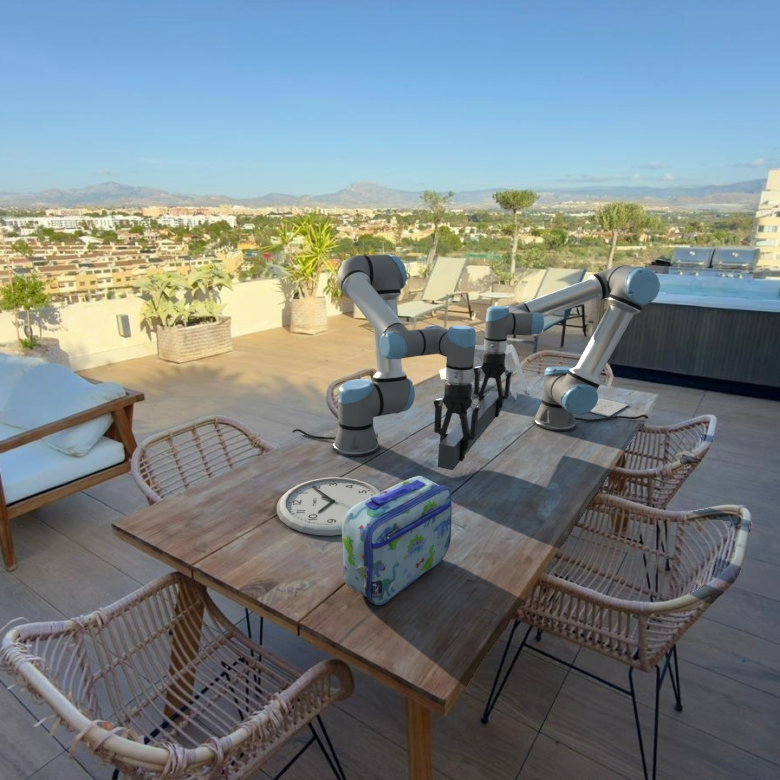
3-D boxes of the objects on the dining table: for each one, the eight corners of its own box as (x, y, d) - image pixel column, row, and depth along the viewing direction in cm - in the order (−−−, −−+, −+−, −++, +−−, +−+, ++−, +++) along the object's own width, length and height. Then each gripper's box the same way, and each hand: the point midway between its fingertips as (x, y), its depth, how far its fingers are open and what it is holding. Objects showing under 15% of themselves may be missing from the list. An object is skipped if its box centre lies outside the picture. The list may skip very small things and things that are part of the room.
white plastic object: (461, 429, 252) (437, 405, 227) (444, 352, 274) (420, 323, 250) (535, 404, 240) (518, 377, 215) (510, 326, 262) (492, 293, 237)
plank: (488, 409, 194) (490, 390, 192) (500, 411, 193) (502, 392, 190) (437, 467, 148) (438, 443, 146) (452, 470, 146) (454, 446, 144)
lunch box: (371, 618, 102) (371, 524, 95) (336, 591, 109) (334, 502, 103) (455, 562, 119) (460, 479, 113) (420, 542, 126) (423, 463, 120)
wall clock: (392, 527, 129) (268, 531, 127) (391, 533, 130) (269, 537, 127) (383, 473, 158) (282, 475, 155) (383, 478, 158) (282, 480, 156)
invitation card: (608, 416, 214) (573, 407, 224) (608, 416, 214) (573, 408, 224) (628, 404, 229) (594, 396, 238) (628, 405, 229) (594, 397, 238)
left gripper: (424, 380, 146) (420, 456, 153) (486, 390, 139) (479, 469, 146) (433, 373, 153) (429, 447, 160) (493, 382, 146) (486, 458, 153)
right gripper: (466, 351, 180) (462, 414, 187) (518, 356, 173) (512, 422, 181) (472, 346, 187) (468, 408, 194) (522, 352, 180) (516, 415, 187)
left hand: (453, 457), depth 153 cm, fingers closed on plank, 5 cm apart
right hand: (489, 414), depth 187 cm, fingers closed on plank, 5 cm apart
